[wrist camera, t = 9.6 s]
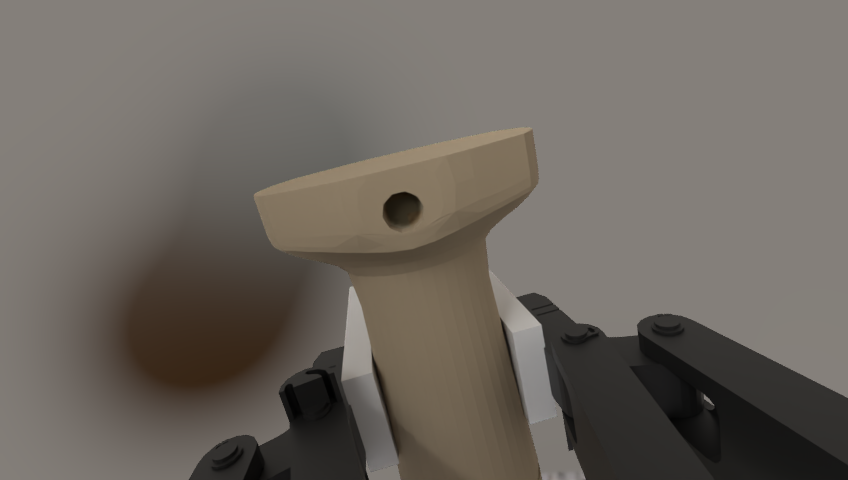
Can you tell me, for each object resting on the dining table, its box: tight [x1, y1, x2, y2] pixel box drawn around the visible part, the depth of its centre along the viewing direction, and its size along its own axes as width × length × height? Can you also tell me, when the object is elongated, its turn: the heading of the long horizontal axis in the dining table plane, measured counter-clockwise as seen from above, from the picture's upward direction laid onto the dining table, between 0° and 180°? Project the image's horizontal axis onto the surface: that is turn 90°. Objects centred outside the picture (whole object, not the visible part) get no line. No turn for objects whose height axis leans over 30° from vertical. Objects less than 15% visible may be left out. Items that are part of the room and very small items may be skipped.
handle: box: [254, 127, 542, 480], centre depth 12 cm, size 5×6×15 cm
